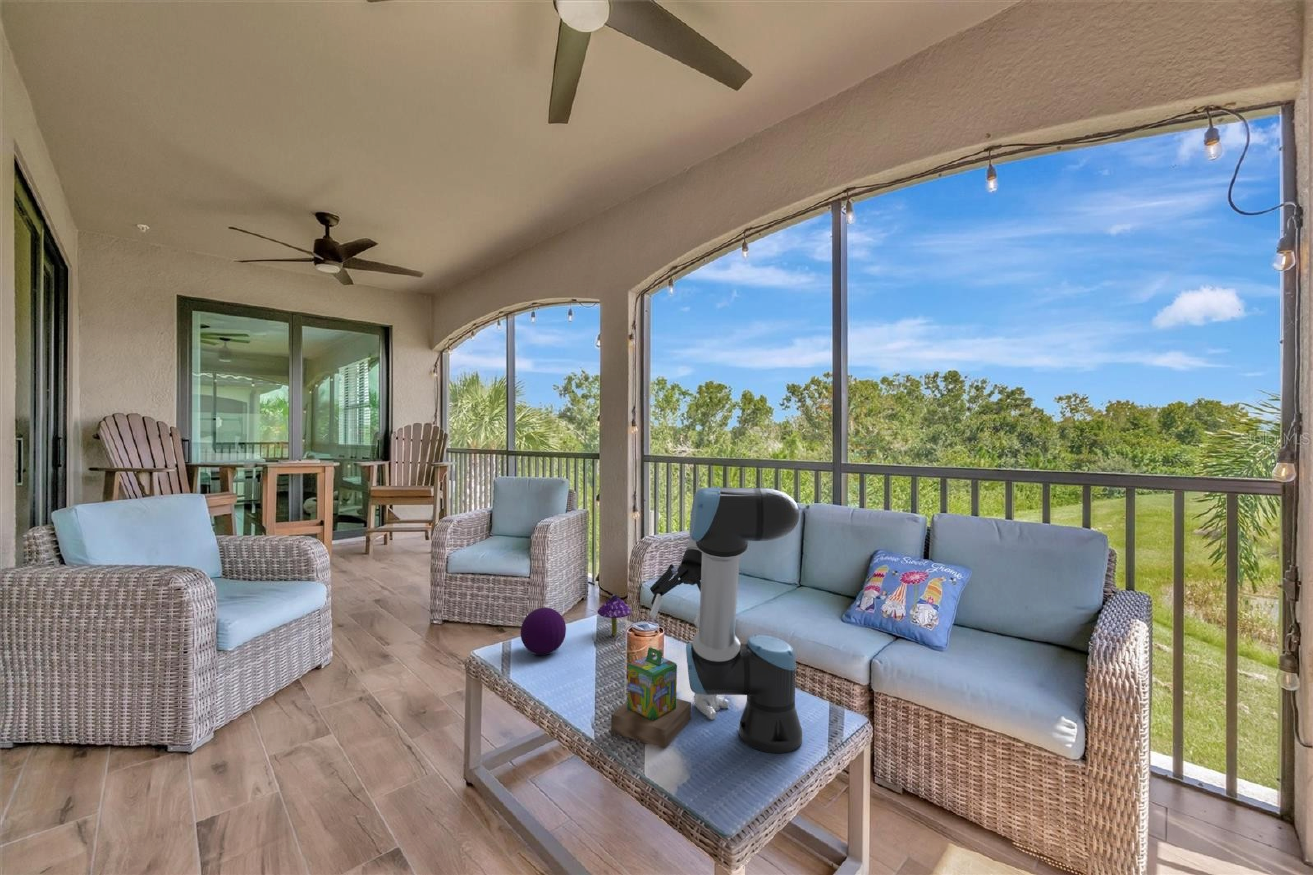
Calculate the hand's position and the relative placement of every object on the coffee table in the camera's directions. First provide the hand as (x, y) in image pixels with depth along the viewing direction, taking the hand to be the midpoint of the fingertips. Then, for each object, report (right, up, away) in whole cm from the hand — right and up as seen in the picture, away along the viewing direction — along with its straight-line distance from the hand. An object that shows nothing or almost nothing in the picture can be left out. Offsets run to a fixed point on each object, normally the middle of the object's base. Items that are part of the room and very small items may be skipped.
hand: (673, 621), depth 147 cm
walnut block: (-6, -24, -9) cm, 26 cm away
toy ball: (-43, -23, +35) cm, 60 cm away
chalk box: (-6, -19, -10) cm, 22 cm away
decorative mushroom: (-20, -23, +52) cm, 60 cm away
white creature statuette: (+9, -24, -1) cm, 25 cm away
